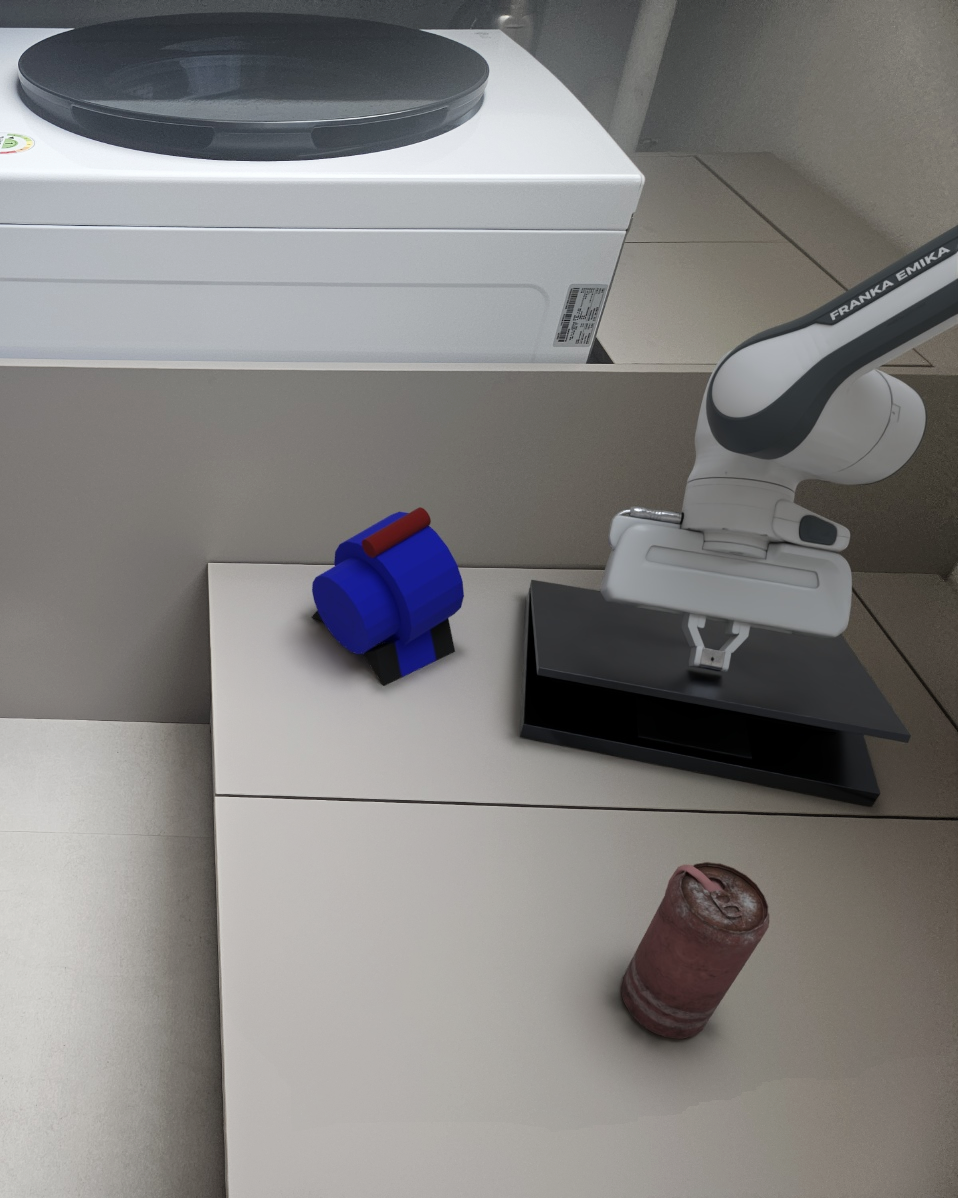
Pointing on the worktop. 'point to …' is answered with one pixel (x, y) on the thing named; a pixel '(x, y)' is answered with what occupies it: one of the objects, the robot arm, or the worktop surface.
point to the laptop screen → (661, 668)
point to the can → (694, 948)
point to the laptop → (693, 735)
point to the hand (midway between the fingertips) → (707, 669)
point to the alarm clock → (392, 595)
